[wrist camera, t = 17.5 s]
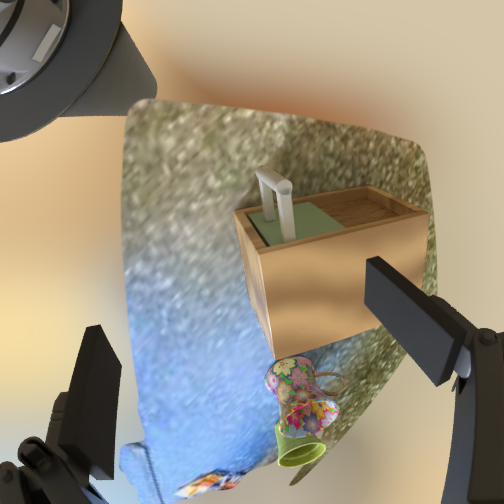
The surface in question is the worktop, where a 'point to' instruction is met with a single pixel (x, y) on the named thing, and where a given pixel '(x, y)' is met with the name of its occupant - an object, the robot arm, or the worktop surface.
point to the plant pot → (298, 449)
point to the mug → (301, 397)
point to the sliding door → (287, 213)
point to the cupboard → (329, 267)
